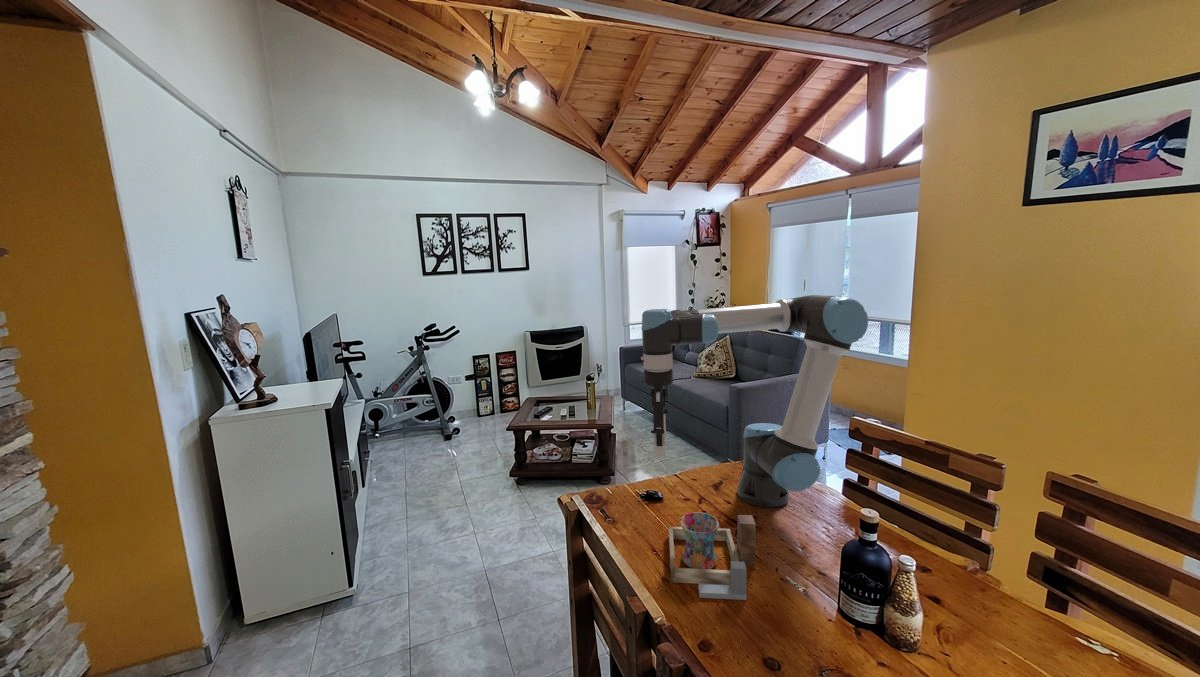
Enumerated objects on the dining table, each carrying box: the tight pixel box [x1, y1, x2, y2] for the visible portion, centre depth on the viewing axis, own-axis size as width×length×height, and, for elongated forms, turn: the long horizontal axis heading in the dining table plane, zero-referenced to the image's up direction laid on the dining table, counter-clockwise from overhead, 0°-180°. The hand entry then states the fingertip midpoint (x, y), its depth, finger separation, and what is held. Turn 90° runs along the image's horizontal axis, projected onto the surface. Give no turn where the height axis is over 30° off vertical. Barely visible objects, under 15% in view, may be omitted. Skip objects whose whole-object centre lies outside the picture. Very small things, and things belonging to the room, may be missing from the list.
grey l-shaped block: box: [697, 560, 748, 601], centre depth 99 cm, size 10×3×7 cm, turn 83°
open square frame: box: [668, 514, 757, 585], centre depth 111 cm, size 20×18×11 cm
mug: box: [679, 511, 720, 569], centre depth 111 cm, size 12×9×11 cm
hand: (660, 446), depth 120 cm, fingers open, 13 cm apart
